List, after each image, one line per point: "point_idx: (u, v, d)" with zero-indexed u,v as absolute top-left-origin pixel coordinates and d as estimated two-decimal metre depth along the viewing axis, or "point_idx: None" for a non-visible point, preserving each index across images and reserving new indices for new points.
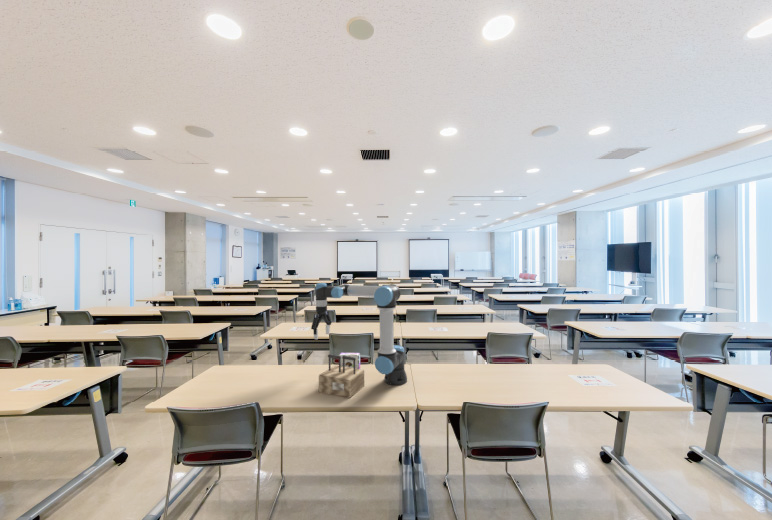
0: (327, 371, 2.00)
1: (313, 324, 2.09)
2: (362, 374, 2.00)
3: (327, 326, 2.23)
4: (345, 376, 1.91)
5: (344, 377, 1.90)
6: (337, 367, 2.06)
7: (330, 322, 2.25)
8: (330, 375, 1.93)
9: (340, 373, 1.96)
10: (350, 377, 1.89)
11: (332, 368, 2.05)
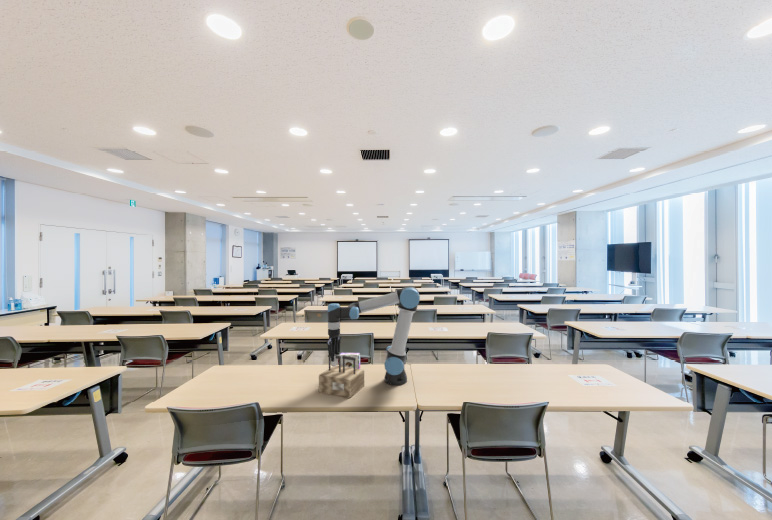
0: (327, 371, 2.00)
1: (329, 351, 1.95)
2: (362, 374, 2.00)
3: None
4: (345, 376, 1.91)
5: (344, 377, 1.90)
6: (337, 367, 2.06)
7: (338, 350, 2.02)
8: (330, 375, 1.93)
9: (340, 373, 1.96)
10: (350, 377, 1.89)
11: (332, 368, 2.05)
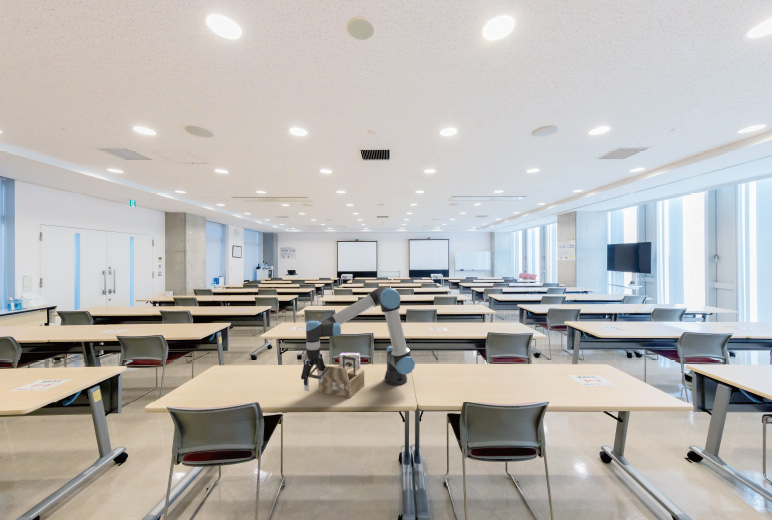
0: None
1: (303, 373, 1.72)
2: (362, 374, 2.00)
3: (320, 372, 1.85)
4: (340, 375, 1.86)
5: (340, 376, 1.86)
6: None
7: (323, 367, 1.87)
8: (327, 376, 1.90)
9: (331, 369, 1.87)
10: (345, 376, 1.84)
11: None
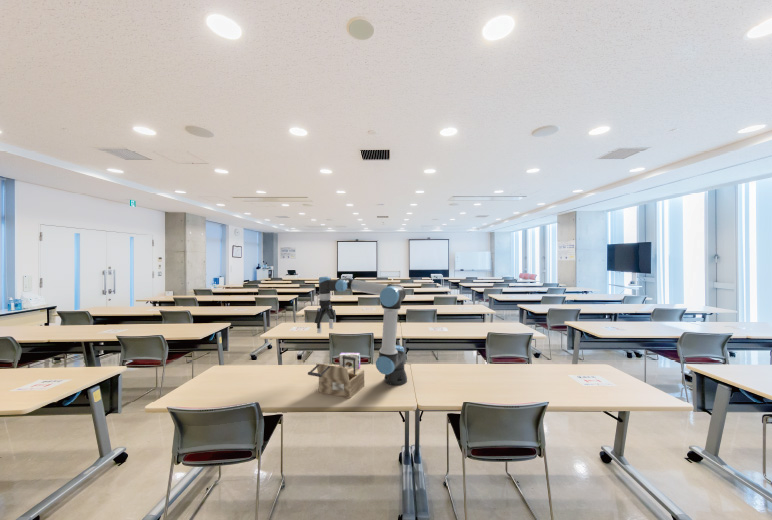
0: (319, 367, 1.92)
1: (316, 318, 2.06)
2: (362, 374, 2.00)
3: (330, 320, 2.20)
4: (340, 374, 1.86)
5: (340, 376, 1.86)
6: None
7: (333, 316, 2.22)
8: (327, 375, 1.90)
9: (332, 369, 1.88)
10: (345, 376, 1.85)
11: None
